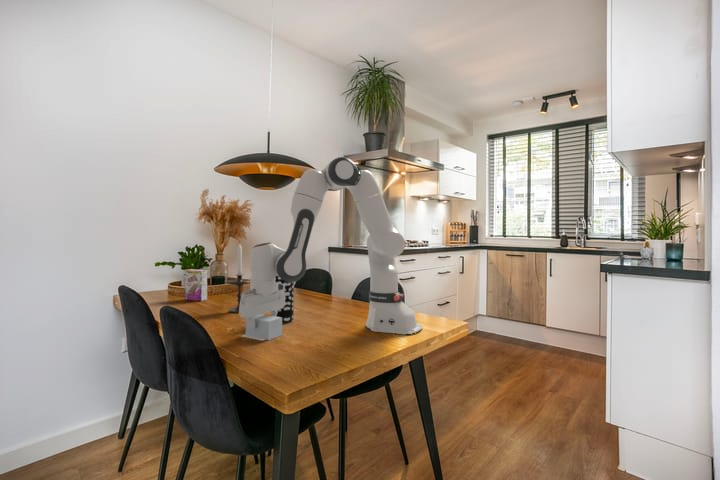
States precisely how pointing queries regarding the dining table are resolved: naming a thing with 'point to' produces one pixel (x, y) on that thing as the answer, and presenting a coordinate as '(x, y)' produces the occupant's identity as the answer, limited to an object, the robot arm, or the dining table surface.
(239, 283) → the candlestick
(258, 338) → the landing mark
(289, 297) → the white-spotted black cylinder
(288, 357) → the dining table surface
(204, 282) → the candy bar box
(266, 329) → the light grey rectangular block
